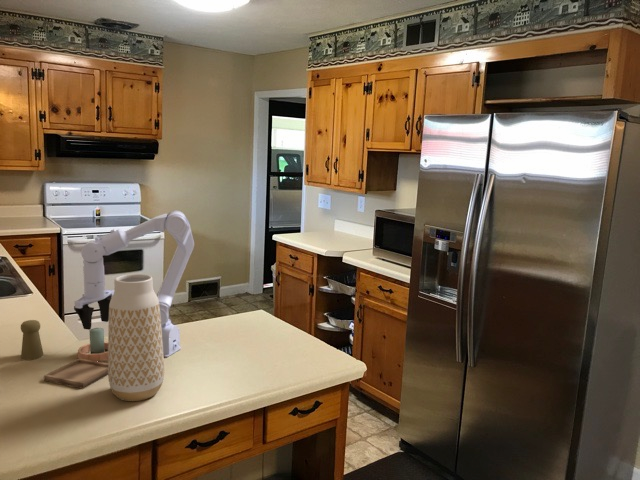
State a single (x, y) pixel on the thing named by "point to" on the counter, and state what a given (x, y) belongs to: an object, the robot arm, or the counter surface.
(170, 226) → the robot arm
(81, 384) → the walnut tray
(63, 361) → the counter surface
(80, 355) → the faceted terracotta ring
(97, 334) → the gray-green peg
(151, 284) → the vase
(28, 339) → the olive pepper mill
